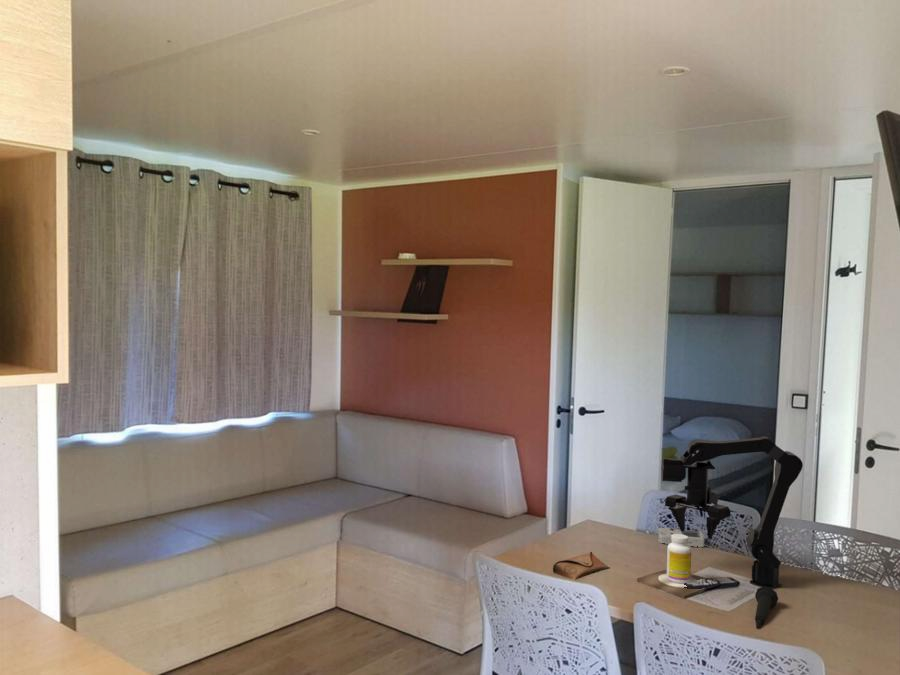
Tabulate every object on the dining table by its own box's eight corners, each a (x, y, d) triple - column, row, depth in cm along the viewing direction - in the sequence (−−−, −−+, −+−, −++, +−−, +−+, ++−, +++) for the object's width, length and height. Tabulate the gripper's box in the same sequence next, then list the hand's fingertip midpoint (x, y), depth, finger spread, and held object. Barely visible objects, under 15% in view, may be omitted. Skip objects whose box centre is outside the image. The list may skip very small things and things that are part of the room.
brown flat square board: (719, 585, 213) (719, 582, 213) (684, 598, 203) (684, 595, 203) (672, 569, 226) (672, 566, 226) (636, 581, 216) (637, 577, 215)
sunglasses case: (574, 580, 215) (566, 558, 217) (558, 586, 219) (550, 564, 222) (612, 567, 226) (603, 546, 229) (595, 573, 231) (587, 552, 234)
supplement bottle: (693, 584, 211) (694, 540, 210) (670, 583, 211) (671, 539, 211) (686, 576, 218) (687, 533, 217) (663, 575, 218) (665, 532, 217)
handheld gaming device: (658, 537, 260) (658, 526, 260) (702, 541, 256) (702, 530, 256) (658, 545, 252) (658, 534, 251) (703, 549, 248) (704, 538, 248)
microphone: (764, 642, 184) (774, 606, 201) (772, 623, 182) (782, 588, 199) (742, 631, 186) (754, 596, 203) (750, 612, 184) (761, 578, 202)
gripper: (741, 485, 216) (740, 538, 216) (685, 473, 231) (684, 523, 231) (720, 490, 209) (718, 545, 209) (664, 478, 224) (663, 529, 224)
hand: (696, 535), depth 219 cm, fingers open, 9 cm apart
